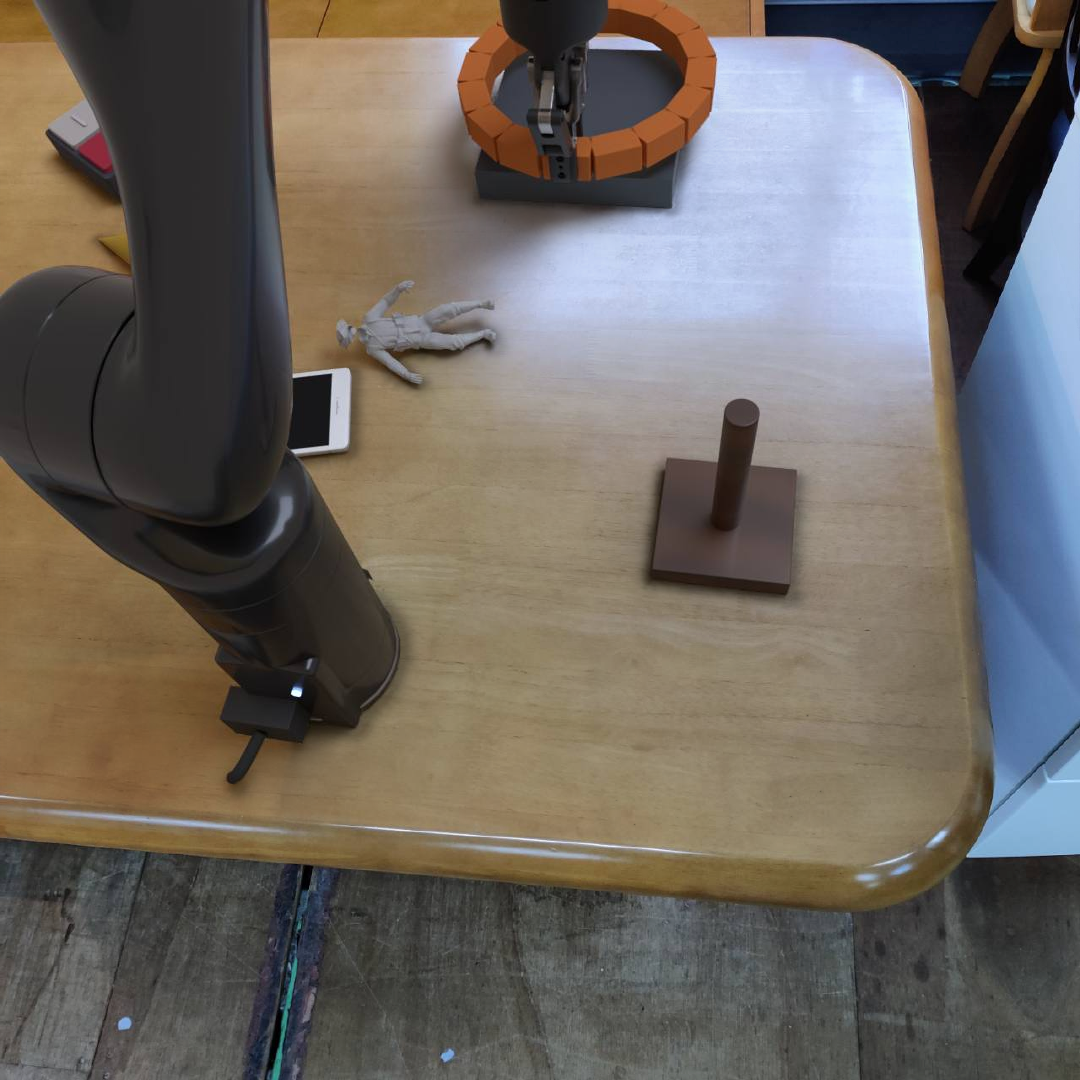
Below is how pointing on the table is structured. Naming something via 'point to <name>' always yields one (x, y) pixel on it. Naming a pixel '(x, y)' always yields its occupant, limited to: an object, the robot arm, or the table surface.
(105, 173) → the grey and red box
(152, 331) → the robot arm
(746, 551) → the post
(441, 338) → the soldier figure
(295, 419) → the cell phone
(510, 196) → the stand
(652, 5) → the ring
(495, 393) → the table surface
